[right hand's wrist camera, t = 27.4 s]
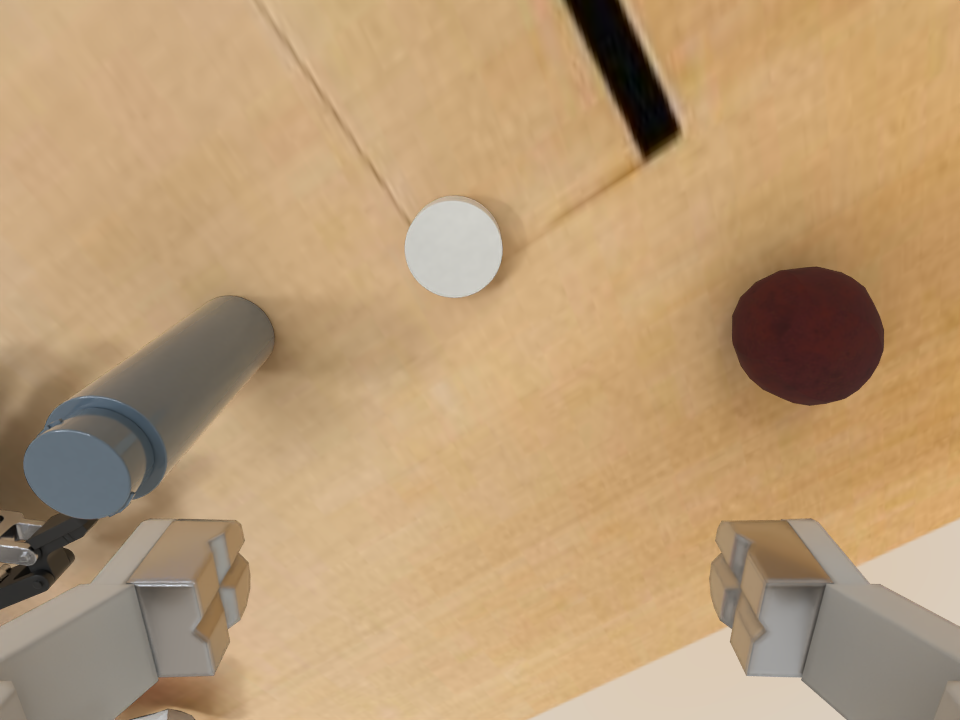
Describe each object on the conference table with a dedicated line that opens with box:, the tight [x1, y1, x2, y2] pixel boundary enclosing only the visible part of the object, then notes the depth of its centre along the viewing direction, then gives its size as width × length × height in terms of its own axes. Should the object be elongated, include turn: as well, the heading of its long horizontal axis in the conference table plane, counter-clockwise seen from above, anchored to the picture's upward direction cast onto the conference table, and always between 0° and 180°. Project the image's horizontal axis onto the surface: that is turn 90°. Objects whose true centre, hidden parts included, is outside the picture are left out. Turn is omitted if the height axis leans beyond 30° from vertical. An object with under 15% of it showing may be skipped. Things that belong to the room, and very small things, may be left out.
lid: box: [405, 196, 503, 298], centre depth 35 cm, size 5×5×2 cm
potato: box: [732, 267, 884, 406], centre depth 34 cm, size 7×8×7 cm
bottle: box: [23, 296, 274, 519], centre depth 30 cm, size 5×5×16 cm
